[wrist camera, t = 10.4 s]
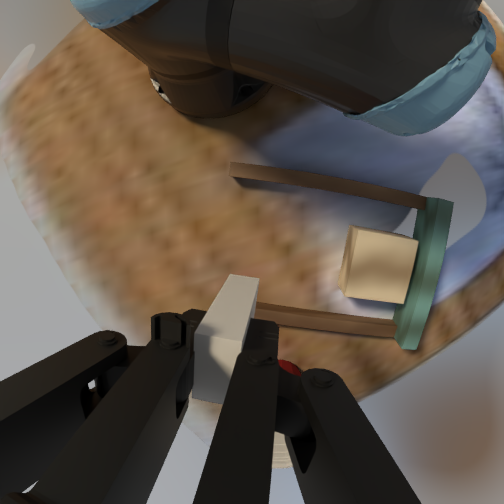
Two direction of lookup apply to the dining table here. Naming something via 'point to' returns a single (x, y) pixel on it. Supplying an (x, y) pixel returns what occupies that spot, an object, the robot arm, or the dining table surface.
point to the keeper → (377, 264)
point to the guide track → (423, 273)
